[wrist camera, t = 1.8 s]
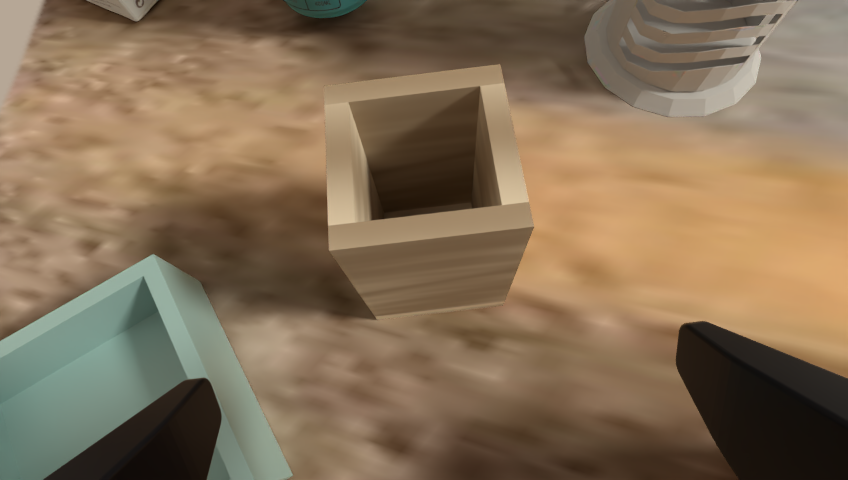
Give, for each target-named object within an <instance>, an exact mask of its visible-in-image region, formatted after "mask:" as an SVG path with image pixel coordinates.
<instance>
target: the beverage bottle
mask: <svg viewBox="0 0 848 480" xmlns="http://www.w3.org/2000/svg"><path fill="white" fill-rule="evenodd" d="M283 1H285V2H286V3H287V4H288V5H289V6H290V7H291V8H292V9H293V10H295V11H296V12H298V13H300V14H302V15H305V16H309V17H314V18H331V17H337V16H341V15H344V14H347V13H349V12H351V11H353V10H355V9H357V8H358V7H360V6H361V5H362V4H363V3H365V2H366V1H367V0H283Z"/></svg>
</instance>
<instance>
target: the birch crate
mask: <svg viewBox="0 0 848 480" xmlns="http://www.w3.org/2000/svg"><path fill="white" fill-rule="evenodd" d="M324 106H325V139H326V173H327V206H328V239H329V252H330V253H331V255H332V256H333V257H334V259H335V260H336V262H337V263H338V265H339V266H340V267H341V269H342V270H343V272H344V273H345V275H346V276H347V277H348V279H349V280H350V282H351V283H352V285H353V286H354V287H355V289H356V290H357V292H358V293H359V295H360V296H361V297H362V299H363V300H364V302H365V303H366V305H367V306H368V307H369V309H370V310H371V312H372V313H373V315H374V316H375V317H376V319H377V320H383V319H392V318H400V317H409V316H418V315H426V314H435V313H444V312H452V311H461V310H470V309H478V308H487V307H496V306H503V304H504V302H505V299H506V296H507V294H508V291H509V289H510V286H511V284H512V281H513V279H514V276H515V274H516V271H517V269H518V266H519V264H520V261H521V258H522V256H523V253H524V251H525V248H526V246H527V243H528V241H529V238H530V236H531V233H532V231H533V228H534V224H533V219H532V214H531V209H530V205H529V200H528V195H527V190H526V185H525V180H524V176H523V171H522V166H521V161H520V156H519V151H518V147H517V142H516V137H515V132H514V127H513V123H512V118H511V113H510V108H509V103H508V98H507V94H506V89H505V84H504V79H503V74H502V69H501V65H500V64H497V65H489V66H481V67H472V68H464V69H456V70H448V71H440V72H432V73H424V74H416V75H408V76H399V77H391V78H383V79H375V80H367V81H359V82H351V83H343V84H335V85H326V86H324Z"/></svg>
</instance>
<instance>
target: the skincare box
mask: <svg viewBox="0 0 848 480" xmlns="http://www.w3.org/2000/svg"><path fill="white" fill-rule="evenodd" d="M86 1H89V2H91V3H93V4H96V5H98V6H100V7H103V8H105V9H107V10H110V11H112V12H115V13H118V14H120V15H123V16H125V17H127V18H129V19H131V20H133V21H139V20H140V19H141V18H142V17H143V16H144V15H145V14H146V13H147V12H148V11H149V10H150V8H151V7H152V6H153V5H154V4H155V3H156V2H157V1H158V0H86Z"/></svg>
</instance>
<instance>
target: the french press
mask: <svg viewBox="0 0 848 480" xmlns="http://www.w3.org/2000/svg"><path fill="white" fill-rule="evenodd" d="M776 1H777V0H609V1H608V2H606V3H605V4H604V5H603V6H602V7H601V8H600V9H598V10H597V11H596V12H595V13H594V14H593V16H592V18H591V21H590V23H589V26H588V28H587V31H586V34H585V36H584V40H585V47H586V54H587V61H588V64H589V65H590V67H591V68H592V70H593V71H594V73H595V74H596V76H597V77H598V78H599V80H600V81H601V83H602V84H603V86H604V87H605V88H606V89H608V90H609V91H611V92H612V93H614V94H615V95H617V96H618V97H619V98H621V99H622V100H624V101H625V102H627V103H628V104H630V105H631V106H633V107H636V108H639V109H643V110H646V111H650V112H653V113H656V114H660V115H663V116H667V117H686V116H706V115H709V114H711V113H714V112H716V111H719V110H722V109H724V108H727V107H729V106H732V105H734V104H736V103H737V102H738V101H739V100H740V99H741V98H742V97H743V96H744V95H745V94H746V93H747V92H748V91H749V89H750V88H751V87H752V86H753V85H754V84H755V83H756V79H757V74H758V70H759V66H760V61H761V55H760V52H759V47H760V46H761V45H762V44H763V42H764V41H765V40H766V39H767V38H768V36H769V35H770V34H771V33H772V31H773V30H774V29H775V28H776V27H777V25H778V24H779V23H780V22H781V21H782V19H783V18H784V17H785V16H786V14H787V13H788V12H789V11H790V10H791V8H792V7H793V6H794V5H795V3H796V2H797V1H798V0H787V1H779V2H776ZM771 14H776V15H775V16H774V18H773V19H772V20H771V21H770V23H769V24H768V25H759V24H760V23H761V21H762V20H763V19H764V17H765V16H766V15H771ZM758 25H759V26H758ZM758 36H759V37H758ZM755 37H758V38H757V40H756V39H755Z"/></svg>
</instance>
